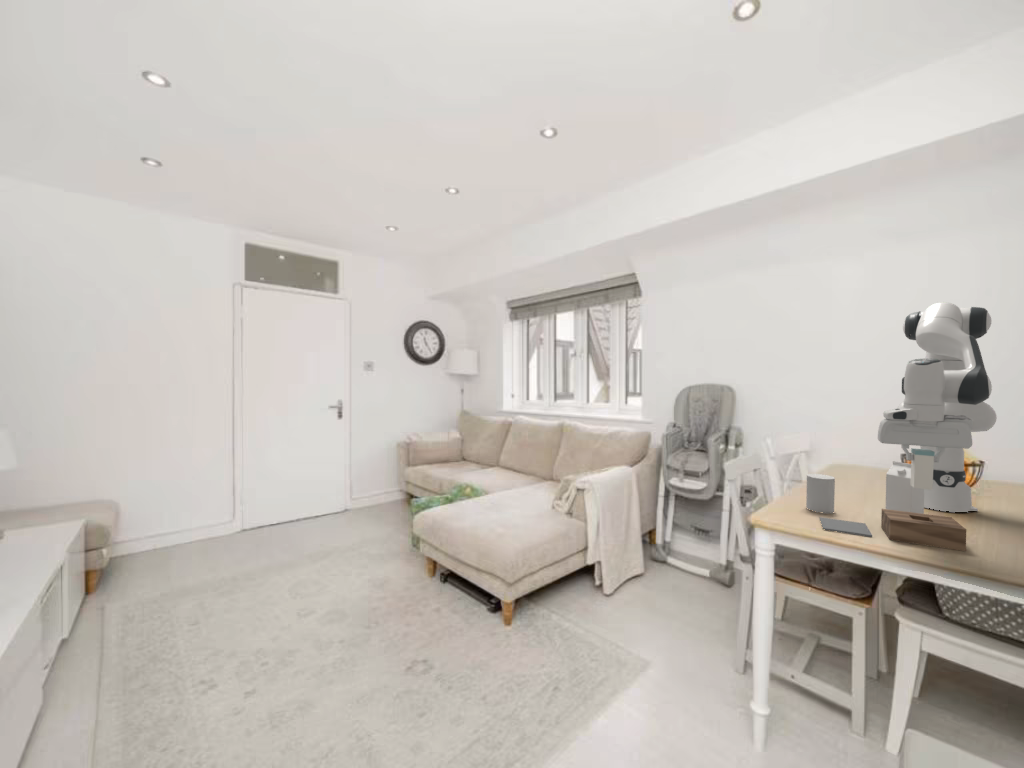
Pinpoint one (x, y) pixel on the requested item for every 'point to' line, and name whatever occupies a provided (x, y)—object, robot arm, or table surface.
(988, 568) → the table surface
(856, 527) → the mat
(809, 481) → the cup
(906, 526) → the block
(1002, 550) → the table surface
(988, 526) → the table surface
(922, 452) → the plug
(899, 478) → the milk carton
